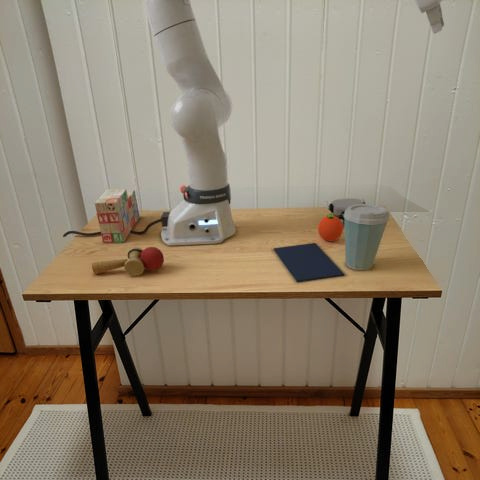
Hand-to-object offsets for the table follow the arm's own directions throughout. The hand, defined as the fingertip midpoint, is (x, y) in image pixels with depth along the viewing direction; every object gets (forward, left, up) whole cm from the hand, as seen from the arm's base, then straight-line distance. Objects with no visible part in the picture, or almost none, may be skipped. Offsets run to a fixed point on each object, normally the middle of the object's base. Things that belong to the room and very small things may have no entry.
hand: (439, 30), depth 97 cm
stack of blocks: (-75, +37, -50) cm, 97 cm away
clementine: (-18, +10, -50) cm, 54 cm away
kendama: (-74, +6, -50) cm, 89 cm away
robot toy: (-6, +23, -50) cm, 55 cm away
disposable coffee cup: (-16, -8, -50) cm, 53 cm away
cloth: (-29, -2, -49) cm, 57 cm away
